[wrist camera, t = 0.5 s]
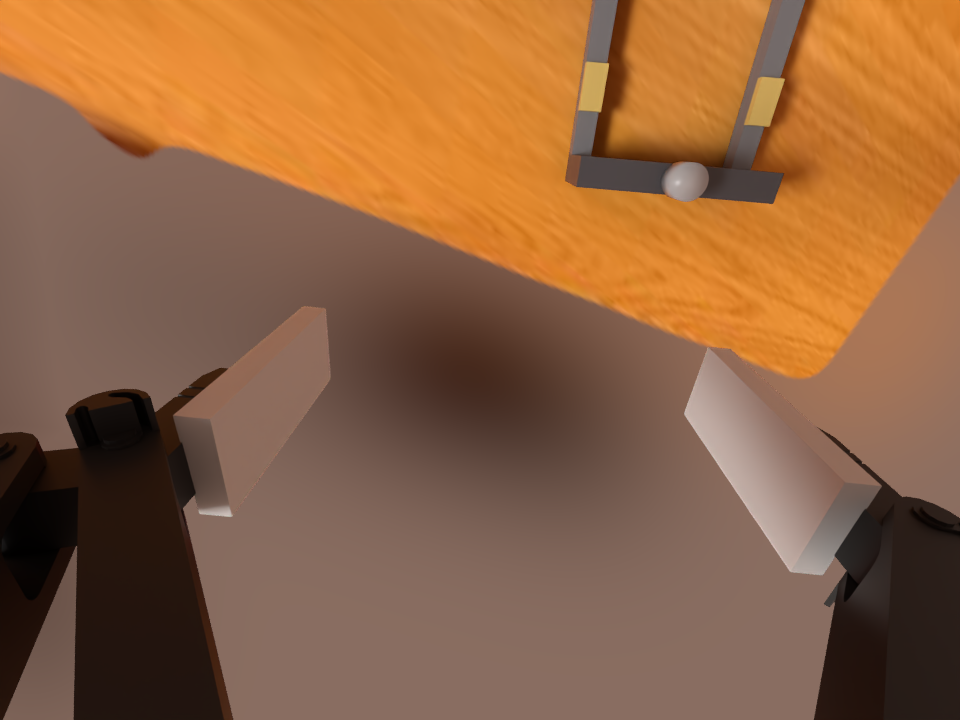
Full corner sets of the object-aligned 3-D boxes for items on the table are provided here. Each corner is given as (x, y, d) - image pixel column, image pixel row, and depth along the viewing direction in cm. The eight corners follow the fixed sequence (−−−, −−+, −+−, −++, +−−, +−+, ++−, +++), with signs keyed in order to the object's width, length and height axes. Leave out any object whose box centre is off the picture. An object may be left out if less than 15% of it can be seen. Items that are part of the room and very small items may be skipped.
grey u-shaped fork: (626, -231, 26) (674, -373, 19) (861, -211, 26) (997, -346, 19) (564, 183, 36) (579, 192, 29) (732, 197, 36) (789, 210, 29)
